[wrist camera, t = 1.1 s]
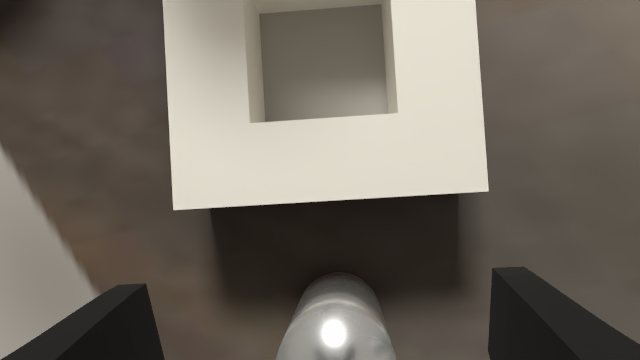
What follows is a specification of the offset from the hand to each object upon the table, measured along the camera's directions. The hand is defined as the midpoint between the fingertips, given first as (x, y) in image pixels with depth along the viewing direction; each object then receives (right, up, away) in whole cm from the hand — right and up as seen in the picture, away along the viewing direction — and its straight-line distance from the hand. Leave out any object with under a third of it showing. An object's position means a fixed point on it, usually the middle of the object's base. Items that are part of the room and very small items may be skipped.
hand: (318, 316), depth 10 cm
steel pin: (+1, -3, +11) cm, 12 cm away
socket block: (0, +8, +12) cm, 14 cm away
